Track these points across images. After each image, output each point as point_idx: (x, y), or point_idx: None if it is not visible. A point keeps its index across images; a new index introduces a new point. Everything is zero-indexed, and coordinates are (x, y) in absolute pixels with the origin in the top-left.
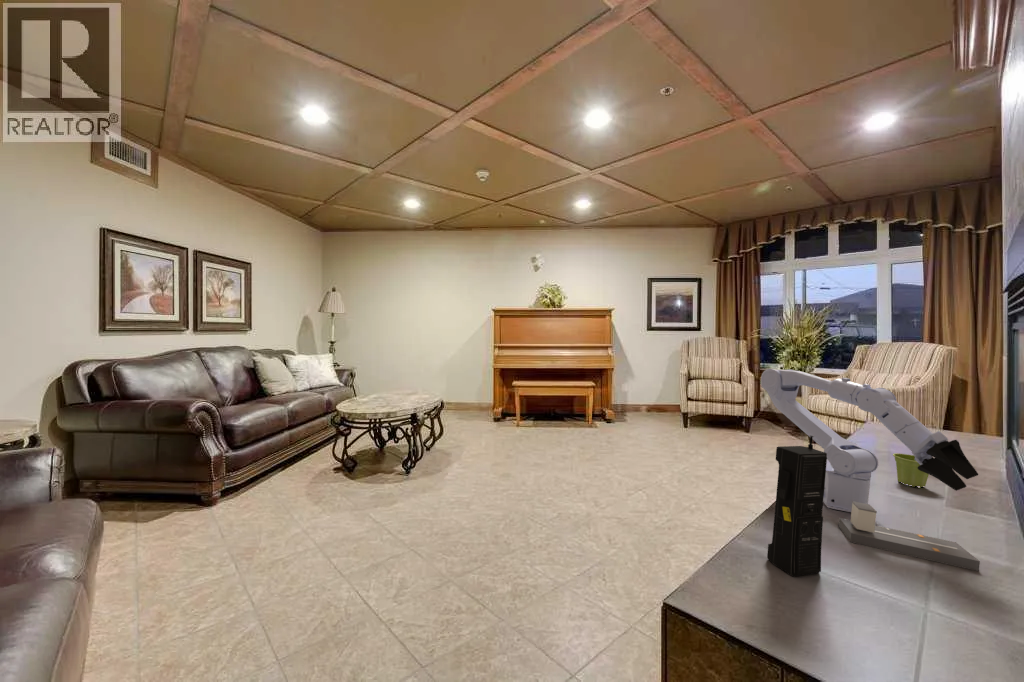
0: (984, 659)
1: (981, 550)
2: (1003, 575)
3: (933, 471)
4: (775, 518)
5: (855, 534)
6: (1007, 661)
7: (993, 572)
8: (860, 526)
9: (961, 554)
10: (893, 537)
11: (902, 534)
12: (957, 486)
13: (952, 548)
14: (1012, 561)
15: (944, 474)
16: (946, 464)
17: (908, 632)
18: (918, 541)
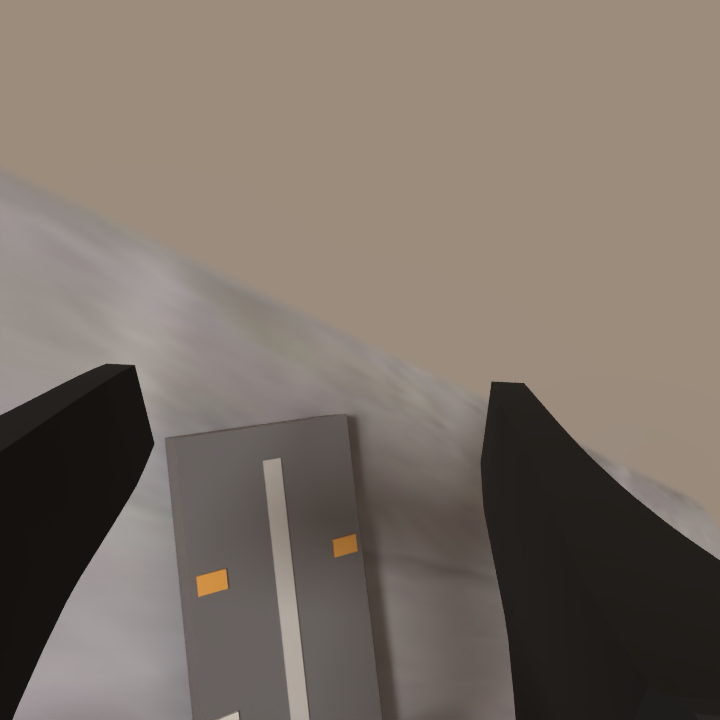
0: (702, 539)
1: (45, 306)
2: (304, 342)
3: (10, 669)
4: None
5: None
6: (688, 505)
7: (300, 366)
8: None
9: (324, 460)
10: (322, 693)
11: (252, 658)
12: (140, 437)
13: (283, 478)
14: (108, 228)
15: (45, 548)
16: (510, 654)
17: None
18: (294, 598)
